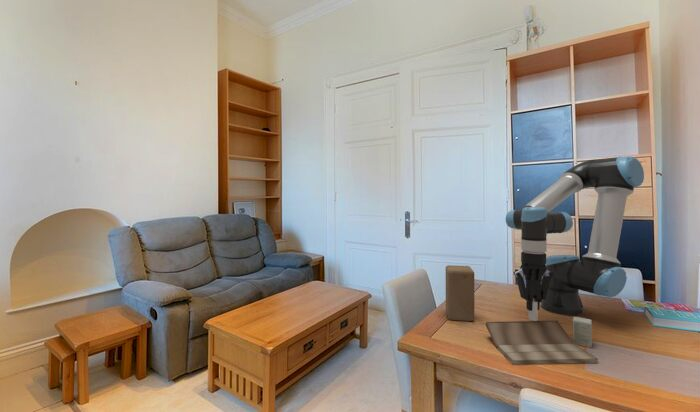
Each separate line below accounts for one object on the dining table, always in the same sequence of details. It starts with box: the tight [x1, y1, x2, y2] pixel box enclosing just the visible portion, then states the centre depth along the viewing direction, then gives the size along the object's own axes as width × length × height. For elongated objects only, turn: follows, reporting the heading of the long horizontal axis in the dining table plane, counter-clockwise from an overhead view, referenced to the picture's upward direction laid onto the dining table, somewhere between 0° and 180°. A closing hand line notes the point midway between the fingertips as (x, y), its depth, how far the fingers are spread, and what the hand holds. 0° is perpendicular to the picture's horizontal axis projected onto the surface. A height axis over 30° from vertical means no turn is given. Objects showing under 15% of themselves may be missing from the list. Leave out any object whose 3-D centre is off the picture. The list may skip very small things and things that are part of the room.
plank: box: [485, 320, 574, 349], centre depth 104 cm, size 25×9×1 cm
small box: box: [572, 316, 593, 348], centre depth 102 cm, size 5×4×8 cm
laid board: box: [497, 344, 599, 365], centre depth 95 cm, size 25×9×1 cm, turn 90°
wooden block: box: [445, 264, 475, 322], centre depth 126 cm, size 10×10×20 cm
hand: (532, 319), depth 108 cm, fingers closed
